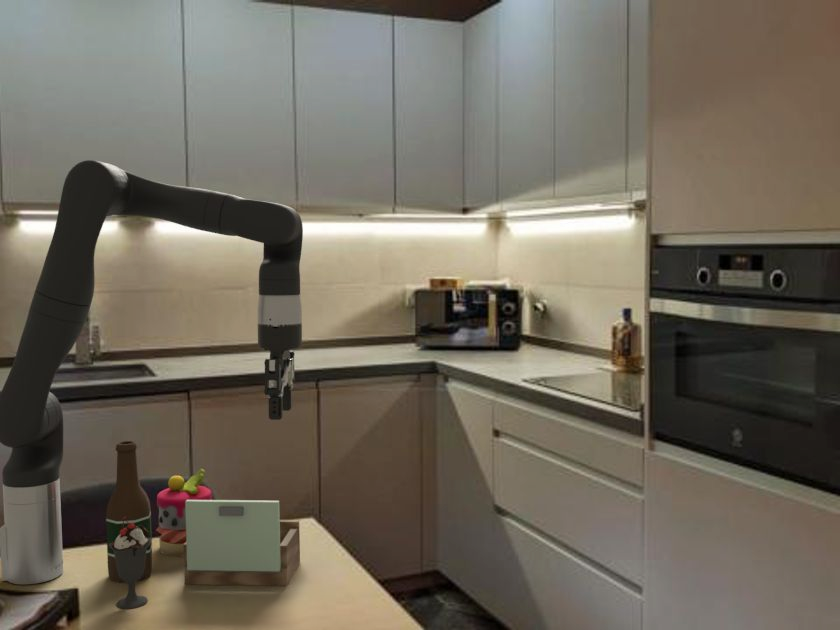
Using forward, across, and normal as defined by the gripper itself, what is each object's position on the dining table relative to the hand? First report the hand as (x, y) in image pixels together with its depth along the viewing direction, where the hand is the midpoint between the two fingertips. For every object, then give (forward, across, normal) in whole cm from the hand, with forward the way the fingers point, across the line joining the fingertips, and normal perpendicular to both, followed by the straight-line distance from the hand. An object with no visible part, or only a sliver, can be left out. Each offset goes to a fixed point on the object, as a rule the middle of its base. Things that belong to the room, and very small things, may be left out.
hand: (280, 414), depth 151 cm
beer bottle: (+30, -2, -27) cm, 40 cm away
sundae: (+30, +10, -23) cm, 39 cm away
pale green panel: (+26, +3, -8) cm, 28 cm away
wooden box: (+29, -3, -7) cm, 30 cm away
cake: (+30, -17, -22) cm, 40 cm away
